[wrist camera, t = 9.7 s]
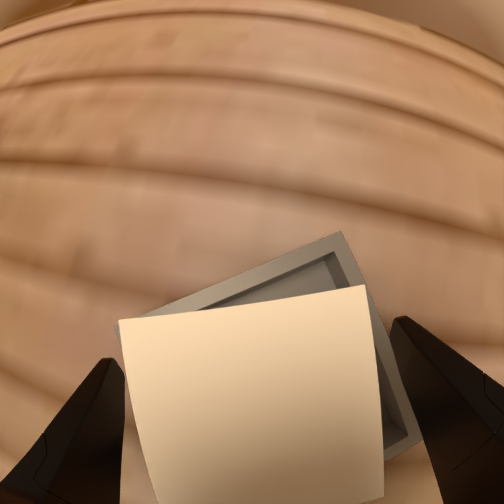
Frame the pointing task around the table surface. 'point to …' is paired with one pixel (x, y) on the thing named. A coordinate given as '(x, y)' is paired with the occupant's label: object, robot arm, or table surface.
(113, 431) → the robot arm
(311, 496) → the cream block
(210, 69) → the table surface
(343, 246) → the grey square tray
